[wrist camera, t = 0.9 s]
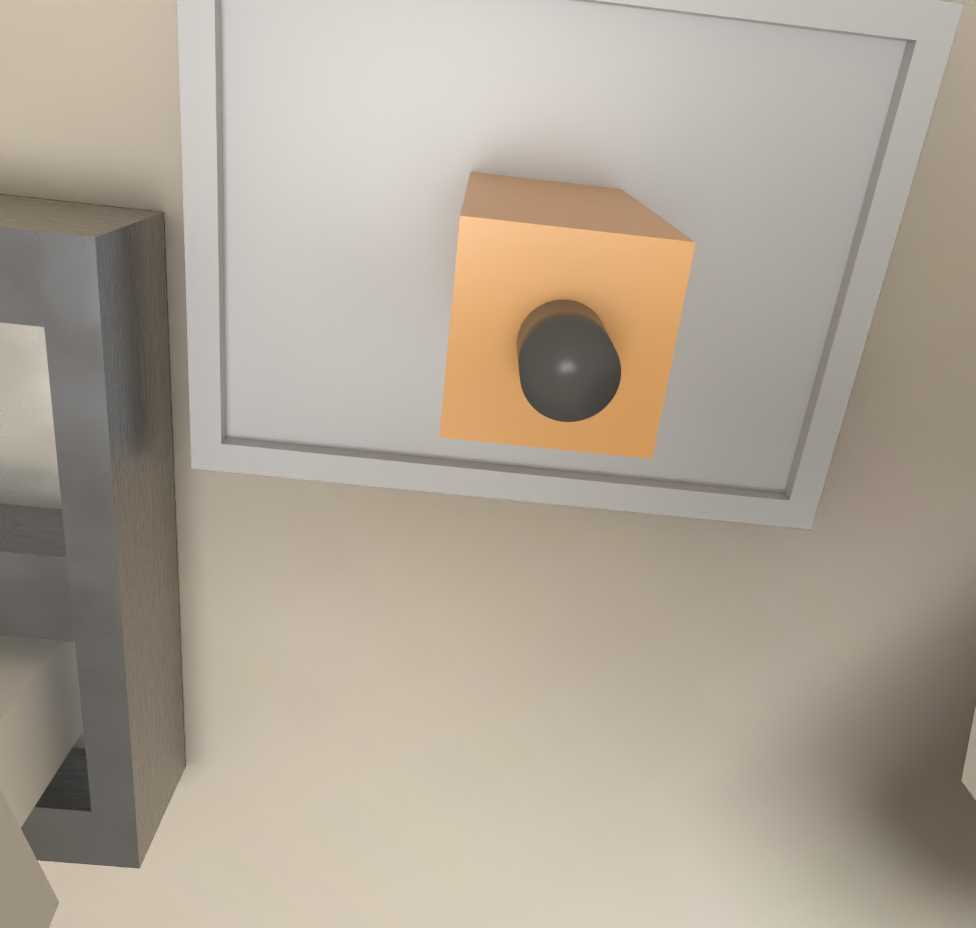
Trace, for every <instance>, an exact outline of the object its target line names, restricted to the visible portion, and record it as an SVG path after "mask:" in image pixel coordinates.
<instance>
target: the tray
mask: <svg viewBox="0 0 976 928" xmlns="http://www.w3.org/2000/svg"><path fill="white" fill-rule="evenodd" d="M963 6H964V3H956V2H949V1H941V0H177V18H178V50H179V83H180V116H181V149H182V181H183V214H184V247H185V280H186V312H187V345H188V378H189V411H190V443H191V469H201V470H211V471H221V472H231V473H241V474H251V475H262V476H272V477H282V478H292V479H302V480H312V481H322V482H332V483H342V484H353V485H363V486H373V487H383V488H393V489H403V490H413V491H423V492H433V493H444V494H454V495H464V496H474V497H484V498H494V499H504V500H514V501H525V502H535V503H545V504H555V505H565V506H575V507H585V508H595V509H605V510H616V511H626V512H636V513H646V514H656V515H666V516H676V517H686V518H696V519H707V520H717V521H727V522H737V523H747V524H757V525H767V526H777V527H787V528H798V529H808V530H811V528H812V525H813V521H814V518H815V514H816V511H817V507H818V504H819V501H820V497H821V494H822V490H823V487H824V483H825V480H826V477H827V473H828V470H829V466H830V463H831V459H832V456H833V453H834V449H835V446H836V442H837V439H838V435H839V432H840V428H841V425H842V422H843V418H844V415H845V411H846V408H847V404H848V401H849V398H850V394H851V391H852V387H853V384H854V380H855V377H856V374H857V370H858V367H859V363H860V360H861V356H862V353H863V350H864V346H865V343H866V339H867V336H868V332H869V329H870V326H871V322H872V319H873V315H874V312H875V308H876V305H877V301H878V298H879V295H880V291H881V288H882V284H883V281H884V277H885V274H886V271H887V267H888V264H889V260H890V257H891V253H892V250H893V247H894V243H895V240H896V236H897V233H898V229H899V226H900V223H901V219H902V216H903V212H904V209H905V205H906V202H907V199H908V195H909V192H910V188H911V185H912V181H913V178H914V174H915V171H916V168H917V164H918V161H919V157H920V154H921V150H922V147H923V144H924V140H925V137H926V133H927V130H928V126H929V123H930V120H931V116H932V113H933V109H934V106H935V102H936V99H937V96H938V92H939V89H940V85H941V82H942V78H943V75H944V71H945V68H946V65H947V61H948V58H949V54H950V51H951V47H952V44H953V41H954V37H955V34H956V30H957V27H958V23H959V20H960V17H961V13H962V10H963ZM470 172H477V173H486V174H495V175H503V176H512V177H521V178H530V179H538V180H547V181H556V182H564V183H573V184H582V185H590V186H599V187H608V188H616V189H622V190H623V191H625V192H626V193H627V194H629V195H630V196H632V197H633V198H634V199H636V200H637V201H639V202H640V203H641V204H643V205H644V206H646V207H647V208H648V209H650V210H651V211H653V212H654V213H655V214H657V215H658V216H660V217H661V218H663V219H664V220H665V221H667V222H668V223H670V224H671V225H672V226H674V227H675V228H677V229H678V230H679V231H681V232H682V233H684V234H685V235H686V236H688V237H689V238H691V239H692V240H693V241H695V242H696V244H695V249H694V254H693V259H692V264H691V269H690V274H689V279H688V284H687V289H686V294H685V299H684V304H683V309H682V314H681V319H680V324H679V329H678V334H677V339H676V344H675V349H674V354H673V359H672V364H671V369H670V374H669V379H668V384H667V389H666V394H665V399H664V403H663V408H662V413H661V418H660V423H659V428H658V433H657V438H656V443H655V448H654V453H653V458H652V459H646V458H636V457H626V456H616V455H606V454H596V453H587V452H577V451H567V450H557V449H547V448H537V447H528V446H518V445H508V444H498V443H488V442H478V441H469V440H459V439H449V438H439V435H440V424H441V414H442V403H443V392H444V382H445V371H446V360H447V349H448V339H449V328H450V317H451V306H452V296H453V285H454V274H455V263H456V253H457V242H458V231H459V221H460V213H461V209H462V205H463V201H464V196H465V192H466V188H467V184H468V180H469V175H470Z"/></svg>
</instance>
